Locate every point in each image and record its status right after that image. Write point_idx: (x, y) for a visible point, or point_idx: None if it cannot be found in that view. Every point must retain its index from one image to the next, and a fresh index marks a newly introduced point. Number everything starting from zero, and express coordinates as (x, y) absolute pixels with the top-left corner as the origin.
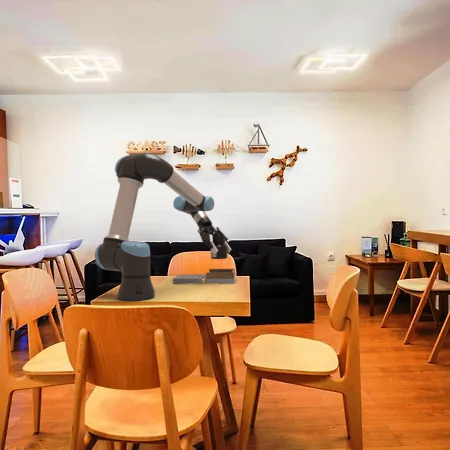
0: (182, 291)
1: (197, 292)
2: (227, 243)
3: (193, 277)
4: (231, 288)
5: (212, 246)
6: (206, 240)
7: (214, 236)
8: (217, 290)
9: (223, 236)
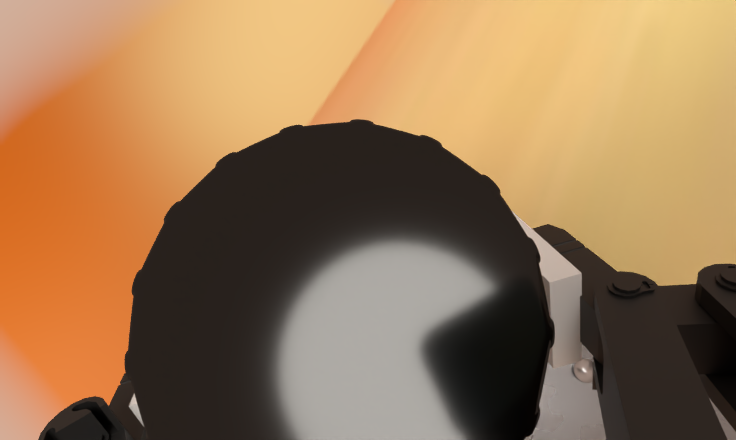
0: (727, 109)
1: (648, 50)
2: (126, 382)
3: (600, 409)
4: (436, 68)
5: (535, 231)
6: (722, 271)
7: (524, 235)
8: (529, 52)
9: (283, 134)
